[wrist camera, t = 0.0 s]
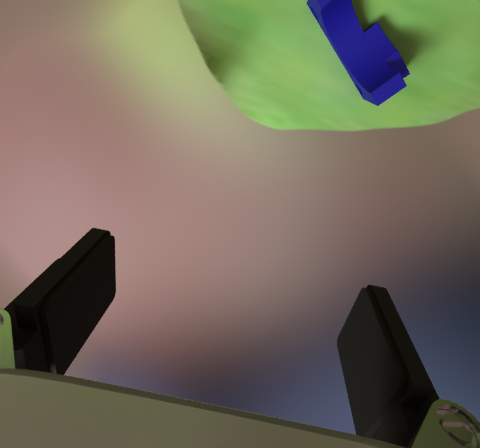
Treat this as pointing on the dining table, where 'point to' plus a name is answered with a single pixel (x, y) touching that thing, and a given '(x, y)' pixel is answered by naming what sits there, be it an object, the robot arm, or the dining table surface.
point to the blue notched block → (361, 50)
